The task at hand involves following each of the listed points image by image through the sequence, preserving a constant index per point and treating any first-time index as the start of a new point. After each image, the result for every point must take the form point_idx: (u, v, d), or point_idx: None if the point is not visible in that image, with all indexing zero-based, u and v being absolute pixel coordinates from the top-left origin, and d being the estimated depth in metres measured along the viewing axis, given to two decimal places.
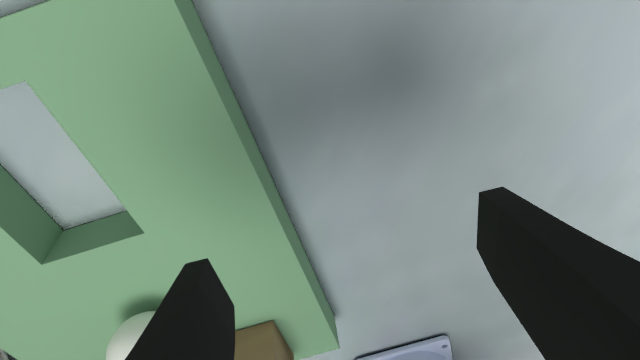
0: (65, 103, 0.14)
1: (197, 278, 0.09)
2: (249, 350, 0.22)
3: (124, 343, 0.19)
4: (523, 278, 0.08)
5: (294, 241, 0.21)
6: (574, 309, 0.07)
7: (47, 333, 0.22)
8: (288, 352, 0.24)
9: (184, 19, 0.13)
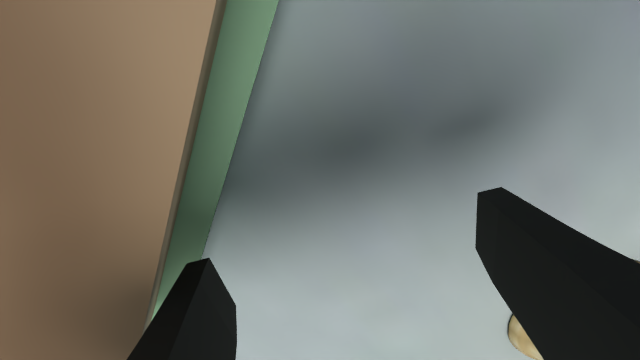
0: None
1: (199, 278, 0.09)
2: None
3: None
4: (521, 279, 0.08)
5: None
6: (572, 309, 0.07)
7: None
8: None
9: None
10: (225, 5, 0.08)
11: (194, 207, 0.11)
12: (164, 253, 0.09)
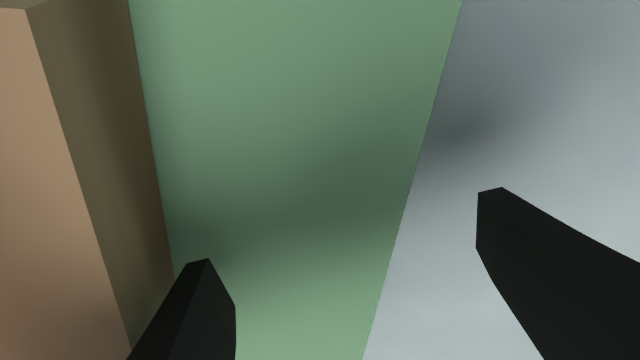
0: None
1: (198, 278, 0.09)
2: None
3: None
4: (522, 278, 0.08)
5: None
6: (573, 309, 0.07)
7: None
8: None
9: None
10: (132, 62, 0.08)
11: (375, 249, 0.12)
12: (154, 309, 0.10)
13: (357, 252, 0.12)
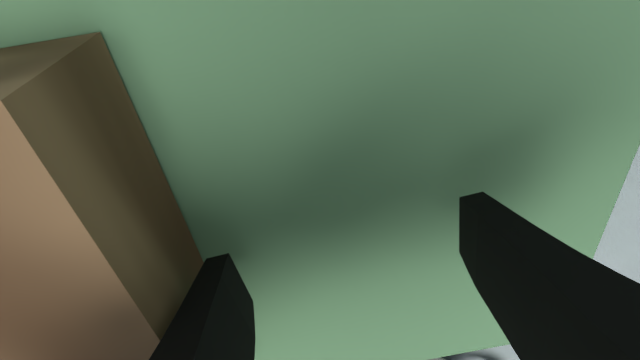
0: None
1: (220, 272, 0.09)
2: None
3: None
4: (500, 284, 0.08)
5: None
6: (547, 315, 0.07)
7: (346, 333, 0.15)
8: (23, 51, 0.07)
9: None
10: (128, 110, 0.08)
11: (598, 202, 0.12)
12: None
13: (581, 207, 0.12)
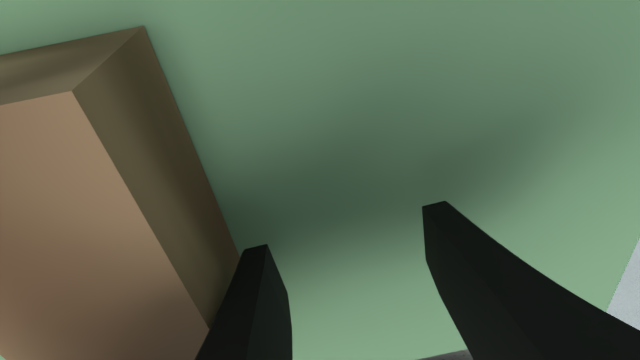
0: None
1: (262, 262, 0.09)
2: None
3: None
4: (458, 294, 0.08)
5: None
6: (495, 328, 0.07)
7: (387, 324, 0.15)
8: (71, 45, 0.07)
9: None
10: (170, 104, 0.08)
11: None
12: None
13: (628, 190, 0.12)
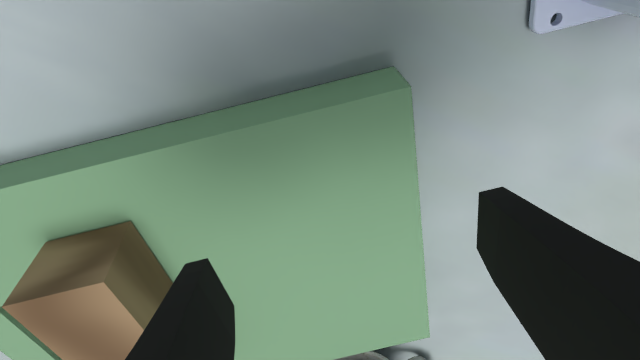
0: (6, 293, 0.19)
1: (197, 278, 0.09)
2: None
3: None
4: (523, 278, 0.08)
5: (182, 131, 0.16)
6: (574, 309, 0.07)
7: (283, 344, 0.24)
8: (99, 236, 0.17)
9: None
10: (145, 250, 0.18)
11: (413, 263, 0.21)
12: None
13: (403, 267, 0.21)
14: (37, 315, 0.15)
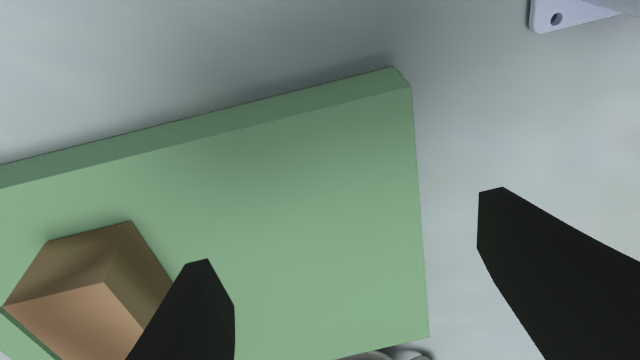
0: (6, 293, 0.19)
1: (197, 278, 0.09)
2: None
3: None
4: (523, 278, 0.08)
5: (182, 131, 0.16)
6: (574, 309, 0.07)
7: (283, 344, 0.24)
8: (99, 236, 0.17)
9: None
10: (145, 250, 0.18)
11: (413, 263, 0.21)
12: None
13: (403, 267, 0.21)
14: (37, 315, 0.15)
